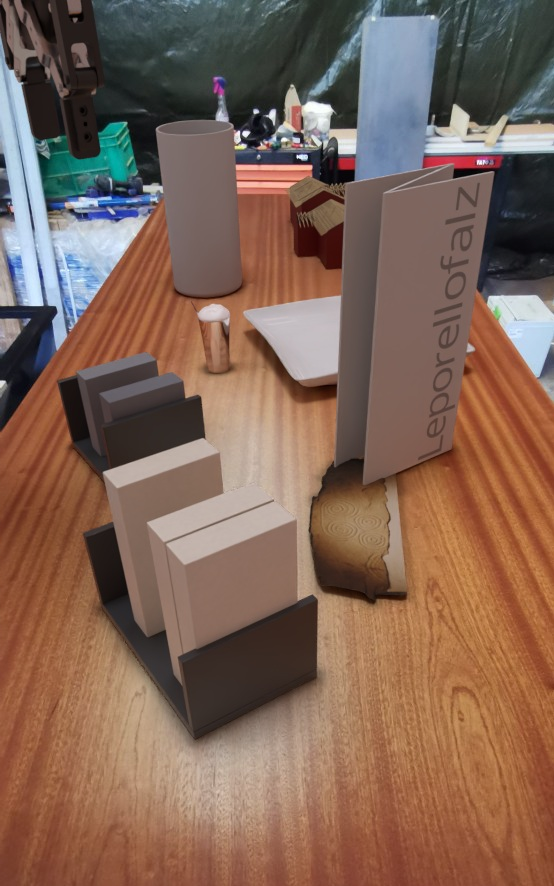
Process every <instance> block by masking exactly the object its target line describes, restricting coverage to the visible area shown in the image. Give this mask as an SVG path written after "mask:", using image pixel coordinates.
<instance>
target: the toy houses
mask: <svg viewBox="0 0 554 886" xmlns="http://www.w3.org/2000/svg"><path fill="white" fill-rule="evenodd" d="M345 183H346V182H343V183H342V182H340V183H339V184H338V183H335V184H333V183H331V185H330V184H329V183H325V182H323V181H321V180H319V179H317V178H314V177H313V176H310V175H307V176H306V177H303V178H302V179H300V180H299V181H297V182H296V183H294V184H292V185H290V186H289V187H288V188H287V189H285V190H284V191H285V193H286V194H287V196H288V198H289V220H290V222H291V224H292V226H293V251H294V253H295V254H296V257H297V258H304V257H307V258H308V257H318V259H319V260H320V262H321V263H322V265H323V267H324V268H325V270H335V269H337V270H338V269H342V256H343V230H344V205H345Z"/></svg>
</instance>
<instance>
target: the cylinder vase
mask: <svg viewBox="0 0 554 886" xmlns="http://www.w3.org/2000/svg"><path fill="white" fill-rule="evenodd" d="M155 134H156V143H157V152H158V157H159V158H158V161H159V168H160V176H161V177H160V178H161V186H162V194H163V201H164V203H163V204H164V211H165V220H166V229H167V235H168V236H167V237H168V246H169V254H170V263H171V271H172V280H173V281H172V282H173V287H174V288H175V290H176V291H177V292H178V293H179V294H182V295H183V296H188V297H191V298H192V297H193V298H199V299H201V298H202V299H203V298H204V299H205V298H207V299H208V298H217V297H222V296H226V295H229V294H232V293H234V292H236V291H237V290H238V289H239V288H240V287H241V286H242V283H243V271H242V251H241V236H240V235H241V233H240V217H239V215H240V214H239V197H238V181H237V162H236V161H237V160H236V145H235V143H236V142H235V127H234V124H233V123H232V122H228V121H224V120H216V119H215V120H213V119H193V120H192V119H191V120H181V121H174V122H168V123H165V124H161V125H159V126H156V128H155Z"/></svg>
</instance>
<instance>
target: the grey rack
mask: <svg viewBox="0 0 554 886" xmlns="http://www.w3.org/2000/svg"><path fill="white" fill-rule="evenodd" d="M158 367H159V366H158V360H157V359H156V358H155V356H153V355H151V354H150V353H148V352H147V351H144V352H141V353H137V354H133V355H129V356H127V357H123V358H119V359H115V360H111V361H107V362H105V363H101V364H97V365H94V366H91V367H86V368H83V369H79V370H76V372H75V375H70V376H67V377H64V378H61V379H57V380H56V382H57V387H58V391H59V395H60V399H61V403H62V408H63V412H64V416H65V421H66V424H67V428H68V433H69V436H70V440H71V444H72V445H71V446H72V448H73V449H74V450H75V451H76V452H77V453H78V454H79V455H80V456H81V458H82V459H83V460H84V461H85V462H86V463H87V465H88V466H89V467H90V468H91V469H92V470H93V471H94V472H95V474H97V476H98V477H99V478H100V479H101V480H102V482H104V483H105V481H104V477H103V472H104V471H107V470H110V469H113V468H116V467H119V466H122V465H125V464H128V463H131V462H134V461H137V460H140V459H143V458H146V457H149V456H151V455H154V454H157V453H160V452H163V451H166V450H169V449H172V448H175V447H178V446H181V445H184V444H187V443H190V442H193V441H196V440H199V439H202V438H204V439H205V440H206V441H207V439H206V429H205V418H204V409H203V400H202V399H203V398H202V396H201V395H200V394H194V395H192V396H189V397H186V392H185V391H186V390H185V383H184V380H183V379H182V378H181V377H180V376H178V375H177V374H175V373H174V372H173V371H171V372H167V373H164V374H161V375H160V374H159V368H158Z"/></svg>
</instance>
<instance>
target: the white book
mask: <svg viewBox="0 0 554 886" xmlns="http://www.w3.org/2000/svg"><path fill="white" fill-rule="evenodd" d="M222 471H223V470H222V461H221V451H220V450H218V449H217V448H216V447H215V446H213V445H212V443H210V442H209V441H208V440H207V439H206V440H205V439H204V438H202V439H199V440H196V441H193V442H190V443H187V444H184V445H181V446H178V447H175V448H172V449H169V450H166V451H163V452H160V453H157V454H154V455H151V456H149V457H146V458H143V459H140V460H137V461H134V462H131V463H128V464H125V465H122V466H119V467H116V468H113V469H110V470H107V471H104V472H103V477H104V481H105V482H104V481H103V482H104V486H105V489H106V496H107V499H108V505H109V509H110V513H111V518H112V522H113V523H114V528H115V532H116V537H117V541H118V546H119V551H120V555H121V560H122V564H123V569H124V574H125V578H126V583H127V587H128V592H129V597H130V601H131V606H132V610H133V615H134V620H135V621H136V623H137V624H138V625H139V627H140V628H141V630H142V631H143V632H144V634H145V635H146V636H147V637H150V636H152V635H155V634H157V633H159V632H161V631H164V630H166V628H165V622H164V617H163V611H162V606H161V600H160V595H159V589H158V583H157V578H156V572H155V567H154V561H153V556H152V550H151V545H150V539H149V533H148V528H147V522H149V521H152V520H155V519H157V518H160V517H163V516H165V515H168V514H171V513H173V512H176V511H179V510H181V509H184V508H187V507H189V506H192V505H195V504H197V503H200V502H202V501H205V500H208V499H210V498H213V497H216V496H218V495H221V494H224V493H225V492H224V483H223V482H224V481H223V472H222Z"/></svg>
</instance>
